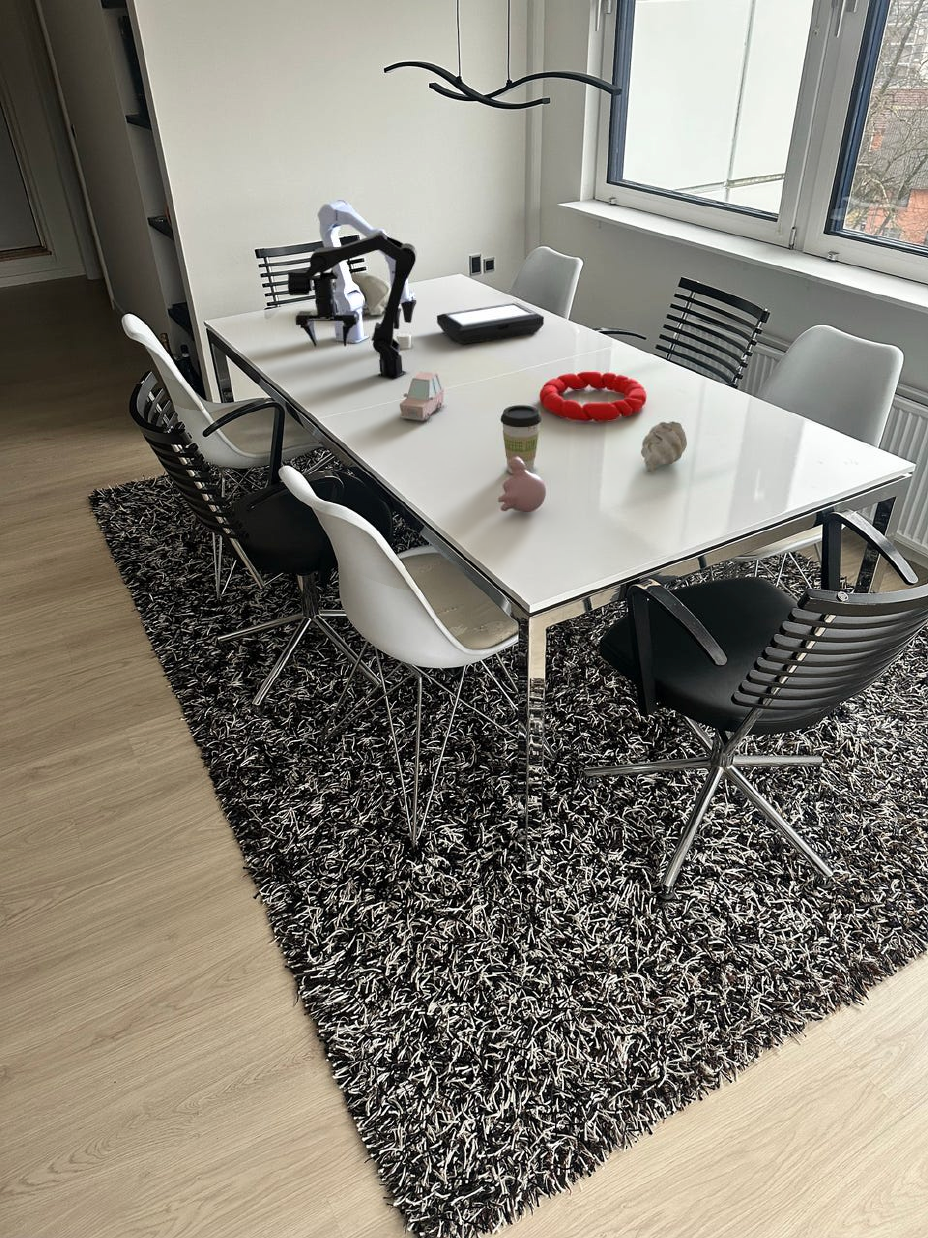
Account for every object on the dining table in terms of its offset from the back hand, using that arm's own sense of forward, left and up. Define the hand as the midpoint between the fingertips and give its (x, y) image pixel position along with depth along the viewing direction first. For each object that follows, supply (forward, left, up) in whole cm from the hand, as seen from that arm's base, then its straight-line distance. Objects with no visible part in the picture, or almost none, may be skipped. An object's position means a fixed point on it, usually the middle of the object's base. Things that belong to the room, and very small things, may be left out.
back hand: (402, 325), depth 300 cm
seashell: (+109, -52, -7) cm, 122 cm away
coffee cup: (+80, -71, -7) cm, 107 cm away
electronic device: (+20, +26, -7) cm, 33 cm away
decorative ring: (+79, -23, -7) cm, 82 cm away
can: (+1, -1, -7) cm, 7 cm away
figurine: (+90, -90, -7) cm, 128 cm away
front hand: (-4, -35, +3) cm, 35 cm away
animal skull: (-37, +30, -7) cm, 48 cm away
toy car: (+39, -50, -7) cm, 63 cm away
